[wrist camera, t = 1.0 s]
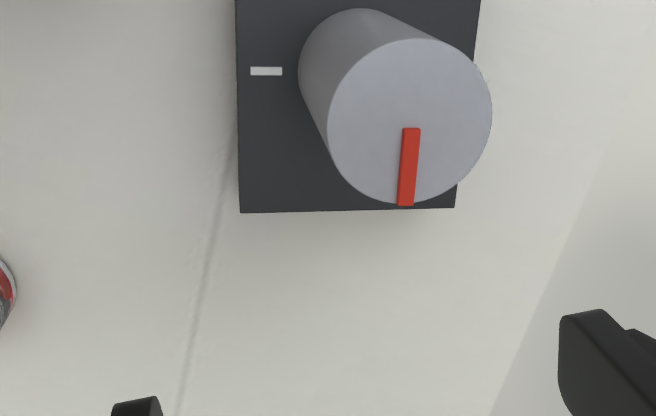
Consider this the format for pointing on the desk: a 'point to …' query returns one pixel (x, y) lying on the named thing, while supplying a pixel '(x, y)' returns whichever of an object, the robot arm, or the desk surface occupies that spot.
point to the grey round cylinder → (393, 105)
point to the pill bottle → (6, 292)
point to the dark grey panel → (292, 112)
